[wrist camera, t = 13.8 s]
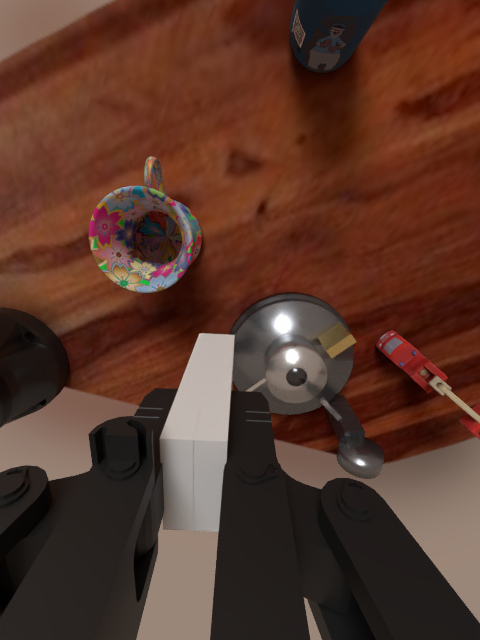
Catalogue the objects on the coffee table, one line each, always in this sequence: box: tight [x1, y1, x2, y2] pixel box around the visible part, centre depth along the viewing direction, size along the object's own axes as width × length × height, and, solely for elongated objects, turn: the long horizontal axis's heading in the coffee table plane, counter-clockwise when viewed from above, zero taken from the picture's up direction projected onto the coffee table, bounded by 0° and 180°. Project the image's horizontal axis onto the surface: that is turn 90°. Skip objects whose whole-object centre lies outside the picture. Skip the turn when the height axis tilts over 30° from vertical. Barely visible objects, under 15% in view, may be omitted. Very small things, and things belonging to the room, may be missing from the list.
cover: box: [264, 334, 327, 403], centre depth 37 cm, size 7×7×5 cm
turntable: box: [233, 298, 356, 415], centre depth 38 cm, size 16×16×6 cm
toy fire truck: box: [376, 330, 480, 439], centre depth 38 cm, size 3×14×10 cm, turn 50°
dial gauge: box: [319, 395, 384, 479], centre depth 38 cm, size 6×5×13 cm
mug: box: [89, 157, 202, 293], centre depth 32 cm, size 12×9×11 cm
